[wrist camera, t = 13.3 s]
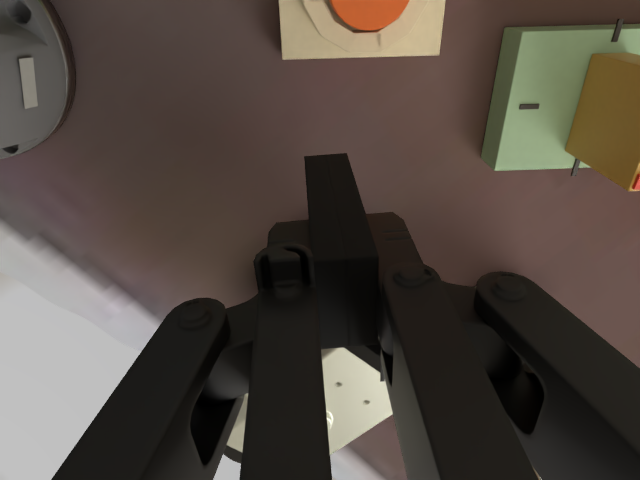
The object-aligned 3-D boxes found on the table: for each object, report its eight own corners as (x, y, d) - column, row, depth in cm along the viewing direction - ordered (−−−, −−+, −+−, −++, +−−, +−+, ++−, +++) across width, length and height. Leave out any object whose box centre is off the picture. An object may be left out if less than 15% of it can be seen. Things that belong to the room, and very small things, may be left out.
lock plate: (479, 164, 37) (493, 179, 34) (505, 18, 31) (525, 21, 28) (627, 159, 37) (653, 173, 35) (680, 13, 31) (716, 16, 29)
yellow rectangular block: (591, 53, 30) (676, 74, 23) (628, 52, 30) (723, 72, 23) (564, 150, 33) (630, 193, 27) (597, 149, 33) (671, 191, 27)
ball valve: (339, 183, 37) (368, 323, 22) (402, 240, 40) (466, 395, 25) (212, 304, 43) (167, 478, 28) (276, 345, 47) (266, 520, 31)
